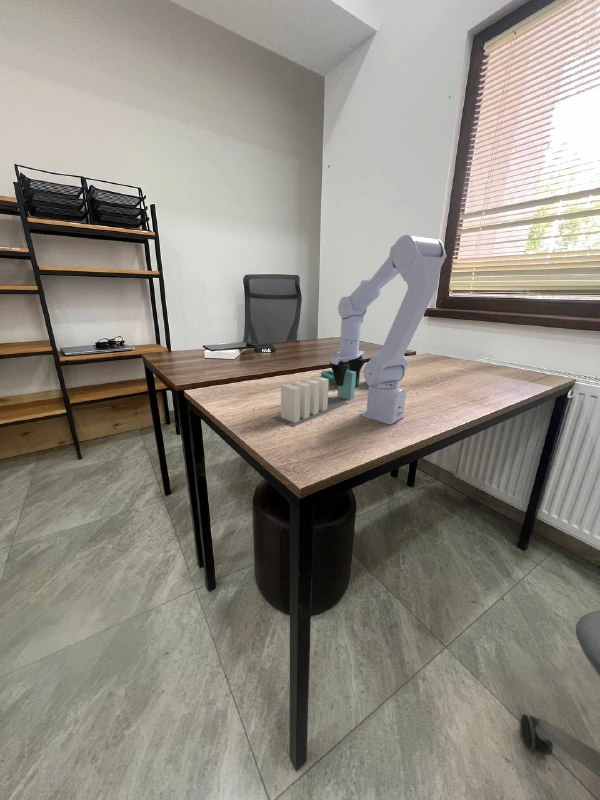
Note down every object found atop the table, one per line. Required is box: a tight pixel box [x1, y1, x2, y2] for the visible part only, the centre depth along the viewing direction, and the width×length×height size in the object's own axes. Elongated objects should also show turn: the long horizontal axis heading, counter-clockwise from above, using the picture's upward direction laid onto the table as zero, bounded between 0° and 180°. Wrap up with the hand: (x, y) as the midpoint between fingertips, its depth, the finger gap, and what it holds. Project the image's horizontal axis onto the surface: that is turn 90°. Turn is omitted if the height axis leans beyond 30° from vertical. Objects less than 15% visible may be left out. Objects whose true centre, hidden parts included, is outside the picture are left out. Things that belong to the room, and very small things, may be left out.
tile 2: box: [309, 375, 330, 411], centre depth 87 cm, size 5×2×9 cm, turn 46°
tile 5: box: [280, 383, 300, 423], centre depth 79 cm, size 5×2×9 cm, turn 46°
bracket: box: [320, 364, 361, 389], centre depth 114 cm, size 18×7×8 cm, turn 25°
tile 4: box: [290, 380, 310, 419], centre depth 82 cm, size 5×2×9 cm, turn 46°
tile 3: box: [300, 377, 320, 415], centre depth 85 cm, size 5×2×9 cm, turn 46°
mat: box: [271, 396, 349, 428], centre depth 87 cm, size 8×24×1 cm, turn 136°
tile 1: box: [337, 370, 356, 401], centre depth 97 cm, size 5×2×9 cm, turn 46°
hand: (346, 382), depth 96 cm, fingers open, 7 cm apart
